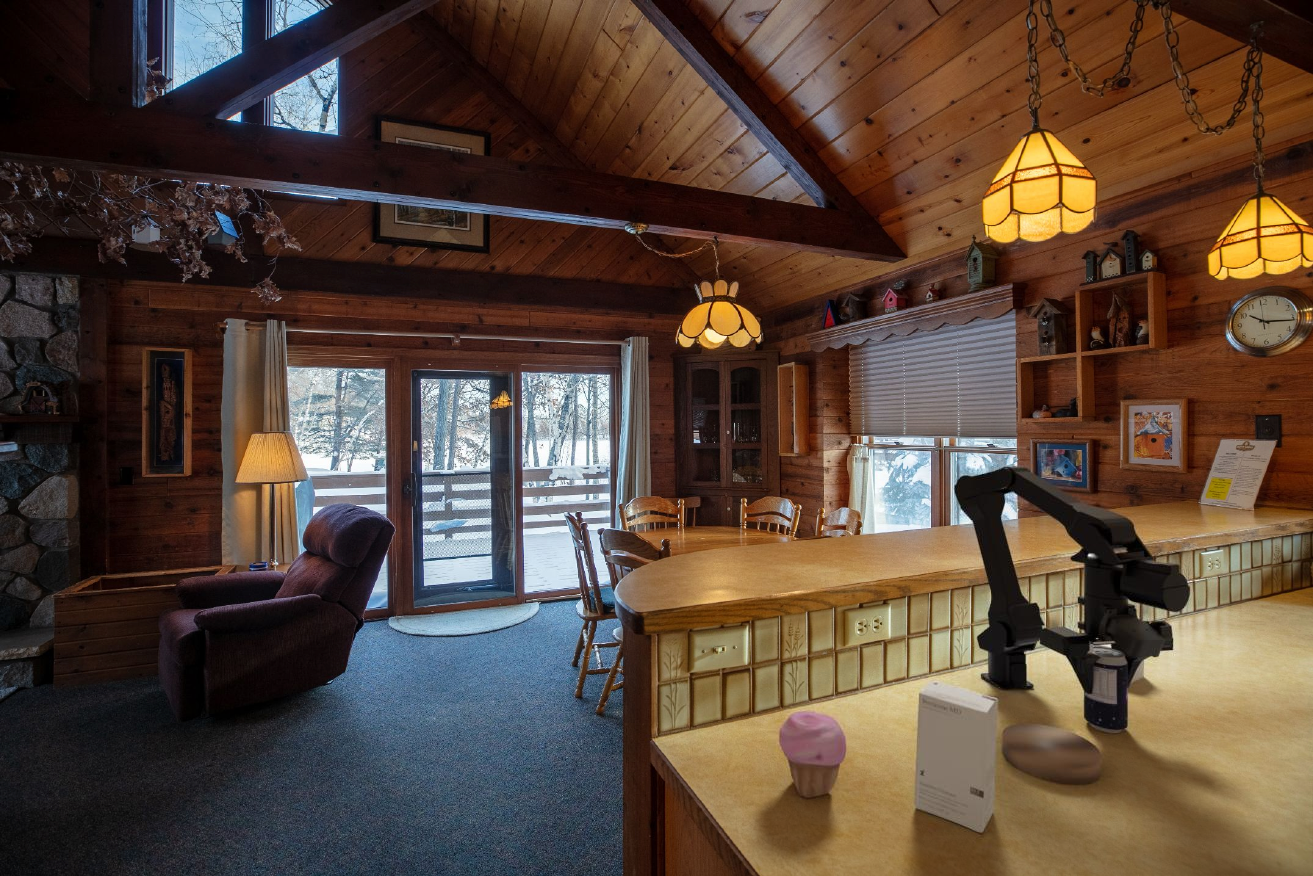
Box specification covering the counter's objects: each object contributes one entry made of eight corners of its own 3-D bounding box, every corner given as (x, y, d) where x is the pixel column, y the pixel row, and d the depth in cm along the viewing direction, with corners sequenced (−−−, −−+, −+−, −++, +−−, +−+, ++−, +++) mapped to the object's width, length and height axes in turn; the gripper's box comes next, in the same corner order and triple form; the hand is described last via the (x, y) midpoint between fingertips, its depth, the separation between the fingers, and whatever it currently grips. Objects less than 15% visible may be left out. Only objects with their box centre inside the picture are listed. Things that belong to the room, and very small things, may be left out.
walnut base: (984, 742, 95) (984, 726, 95) (1057, 737, 97) (1057, 721, 97) (1041, 788, 84) (1041, 769, 83) (1123, 781, 85) (1123, 762, 85)
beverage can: (1135, 737, 97) (1135, 659, 96) (1094, 733, 98) (1094, 657, 98) (1116, 719, 102) (1116, 646, 102) (1077, 717, 103) (1077, 644, 103)
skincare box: (913, 809, 79) (913, 692, 79) (928, 788, 84) (928, 677, 84) (987, 836, 74) (986, 711, 74) (998, 812, 79) (998, 694, 78)
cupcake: (772, 772, 88) (771, 701, 88) (832, 769, 89) (832, 699, 89) (790, 811, 79) (790, 732, 79) (857, 807, 80) (857, 729, 80)
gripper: (1092, 612, 90) (1092, 719, 91) (1208, 606, 93) (1207, 711, 93) (1037, 592, 102) (1037, 687, 102) (1141, 587, 104) (1141, 681, 104)
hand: (1105, 692), depth 100 cm, fingers closed on beverage can, 6 cm apart
